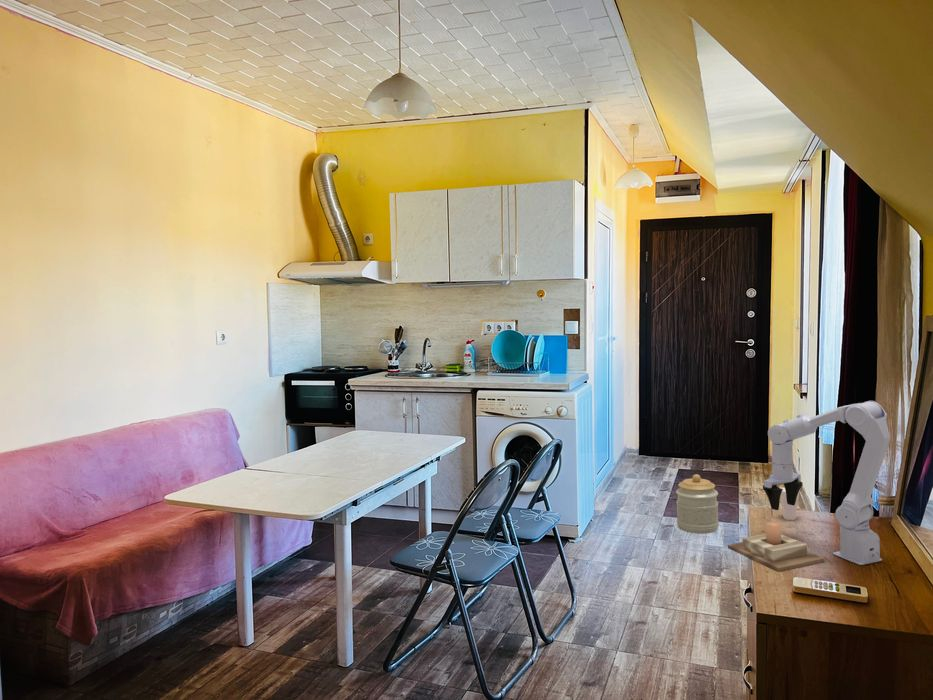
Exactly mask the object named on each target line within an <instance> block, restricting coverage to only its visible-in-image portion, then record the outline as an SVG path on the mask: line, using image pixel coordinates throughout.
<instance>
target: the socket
mask: <svg viewBox="0 0 933 700" xmlns="http://www.w3.org/2000/svg"><path fill="white" fill-rule="evenodd" d="M727 549H728V550H730V551H733V552H736V554H739V555H742V556H743V557H746V558H748V559H749V560H752V561H754V562H756V563H759V564H762V565H763V566H766V567H767V568H769V569H772V570H774V571H777V572H783V571H788V570H793V569H797V568H802V567H807V566H811V565H815V564H821V563H825V558H824V557H823V556H819V555H817V554H815V553H812V552H810V551H808V544H807V543H805V542H802V541H799V540H797V539H794V538H792V537H789V536H786V535H785V534H782V533H781V544H780V545H775V546H773V545H771V544H769V543H766V533H763V534H756V535H751V536H747V537H743V538H742V542H735V543H731V544H727Z"/></svg>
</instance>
